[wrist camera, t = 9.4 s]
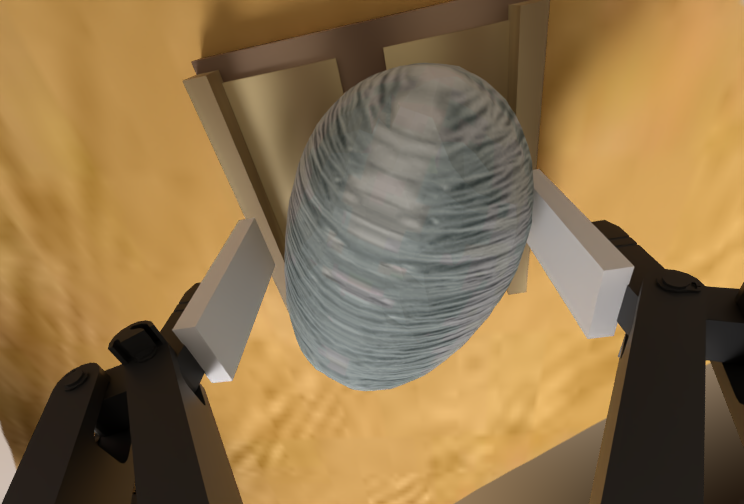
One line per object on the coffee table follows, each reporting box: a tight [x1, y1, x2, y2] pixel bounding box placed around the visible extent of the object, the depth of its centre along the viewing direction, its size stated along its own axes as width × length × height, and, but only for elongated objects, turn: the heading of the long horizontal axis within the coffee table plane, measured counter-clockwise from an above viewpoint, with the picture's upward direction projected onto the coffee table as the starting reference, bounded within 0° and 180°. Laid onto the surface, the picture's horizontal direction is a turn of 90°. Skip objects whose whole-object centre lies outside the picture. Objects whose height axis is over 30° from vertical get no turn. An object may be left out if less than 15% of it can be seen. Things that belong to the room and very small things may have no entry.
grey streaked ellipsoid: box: [284, 63, 534, 391], centre depth 15 cm, size 14×10×10 cm
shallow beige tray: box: [183, 0, 550, 312], centre depth 18 cm, size 14×15×2 cm
